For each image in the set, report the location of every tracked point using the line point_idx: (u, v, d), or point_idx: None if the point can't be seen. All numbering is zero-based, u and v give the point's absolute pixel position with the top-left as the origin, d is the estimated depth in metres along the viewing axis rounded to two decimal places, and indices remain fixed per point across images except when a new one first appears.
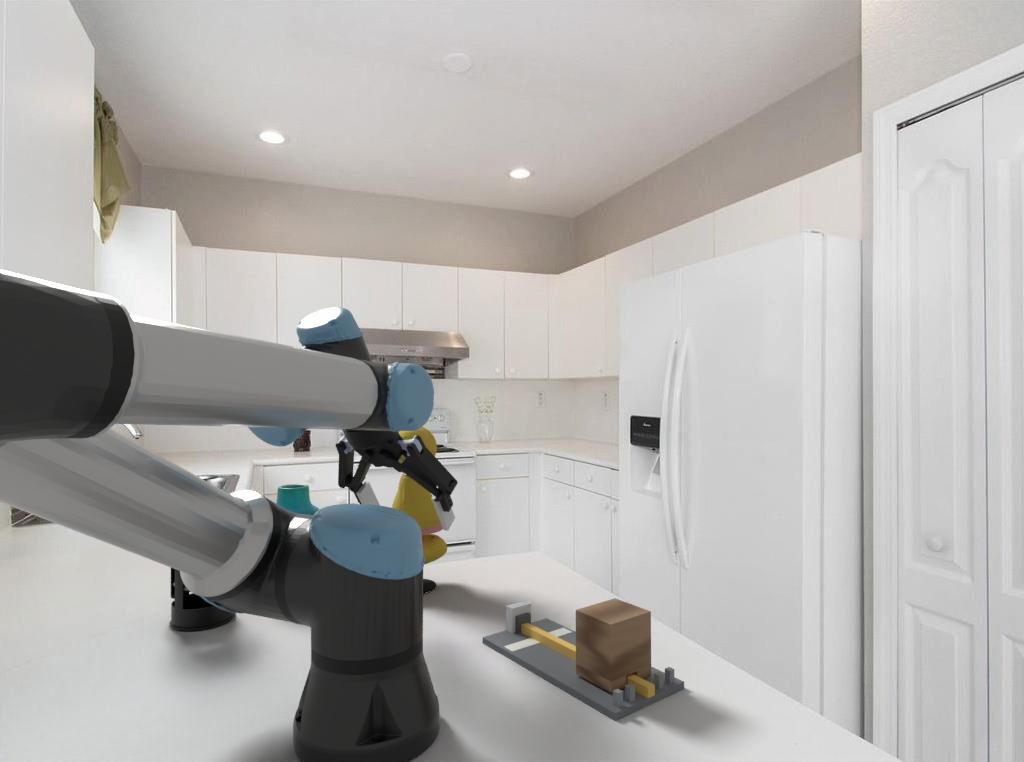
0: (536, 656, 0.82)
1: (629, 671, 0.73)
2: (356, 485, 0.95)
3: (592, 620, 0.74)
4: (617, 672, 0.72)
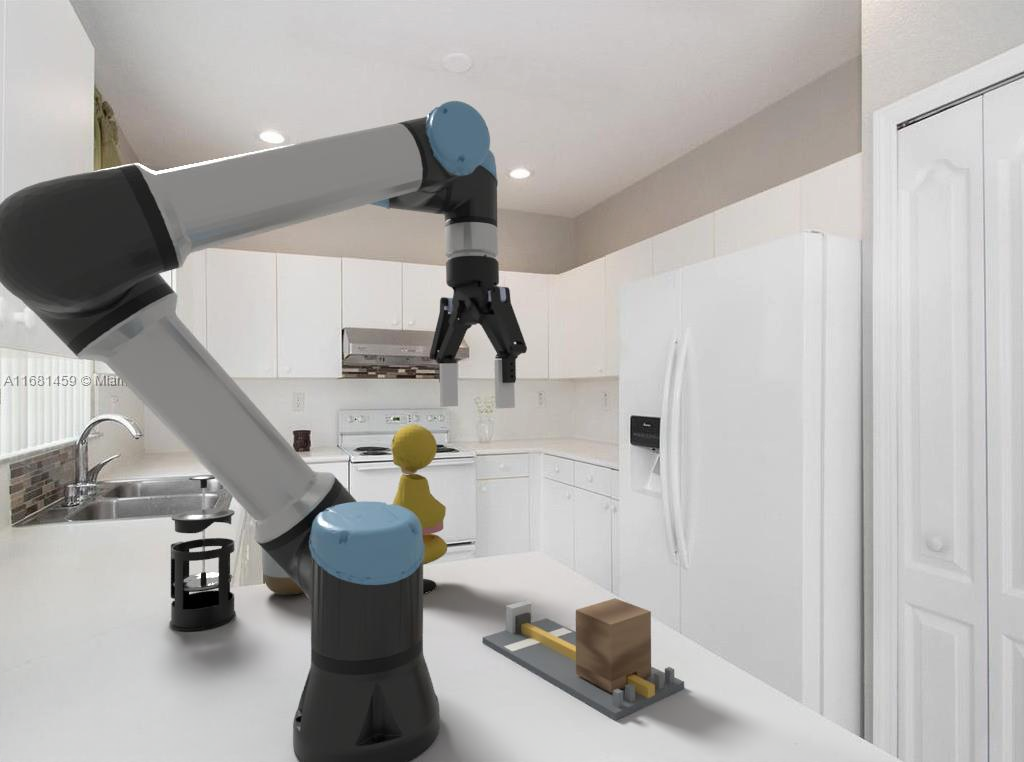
0: (536, 656, 0.82)
1: (629, 671, 0.73)
2: (442, 353, 0.92)
3: (592, 620, 0.74)
4: (617, 672, 0.72)
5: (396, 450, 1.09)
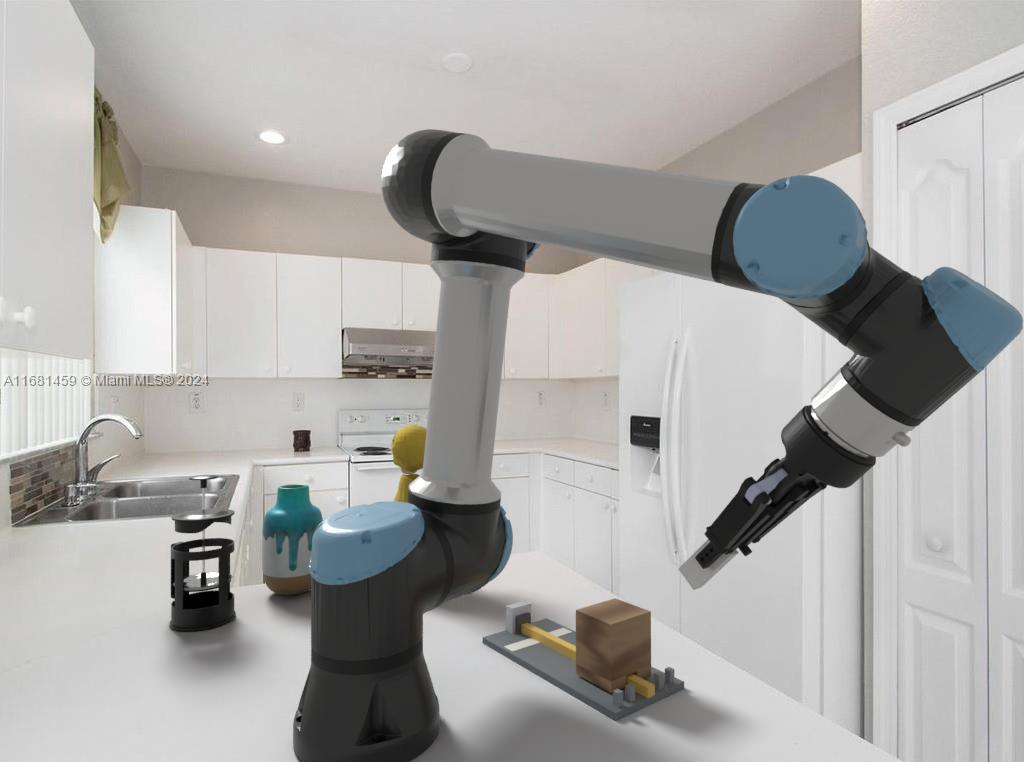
0: (536, 656, 0.82)
1: (629, 671, 0.73)
2: None
3: (592, 620, 0.74)
4: (617, 672, 0.72)
5: (396, 450, 1.09)
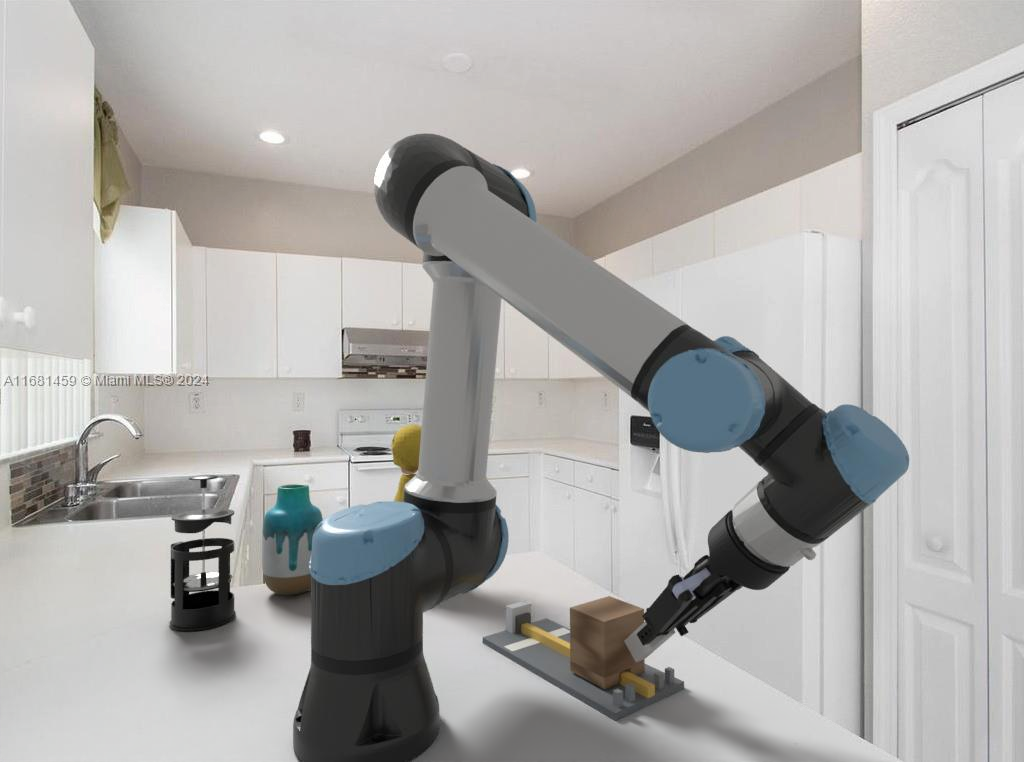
0: (536, 656, 0.82)
1: (622, 668, 0.74)
2: None
3: (585, 617, 0.75)
4: (610, 669, 0.73)
5: (396, 450, 1.09)
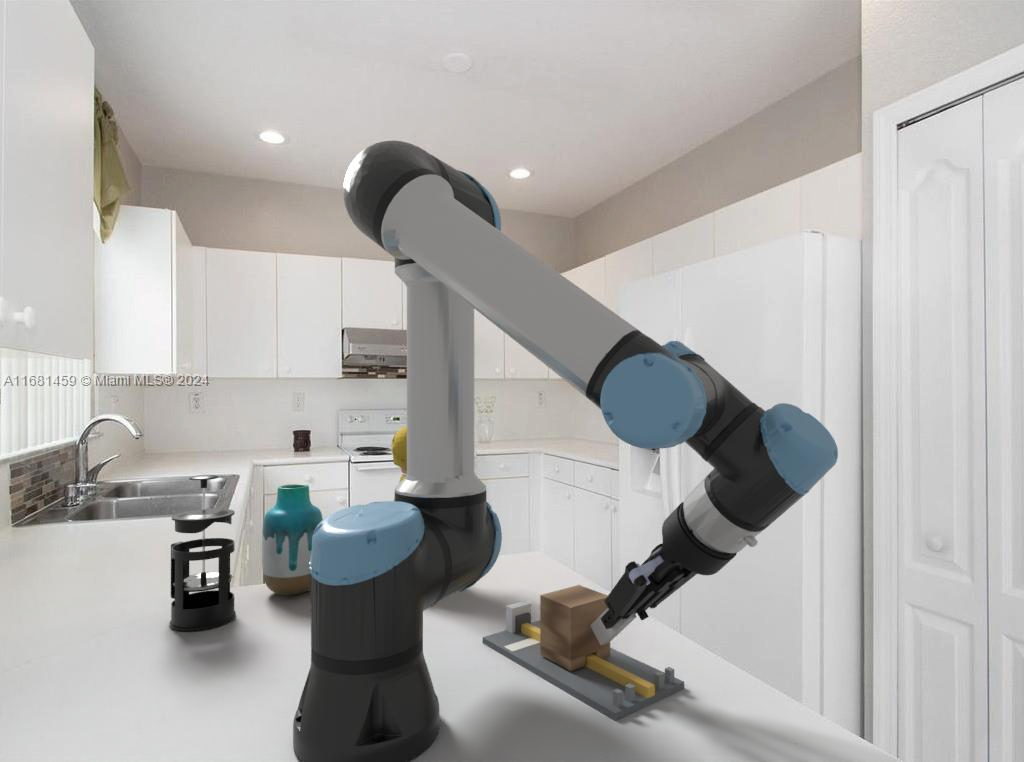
0: (536, 656, 0.82)
1: (588, 651, 0.78)
2: None
3: (554, 604, 0.79)
4: (577, 652, 0.77)
5: (396, 450, 1.09)
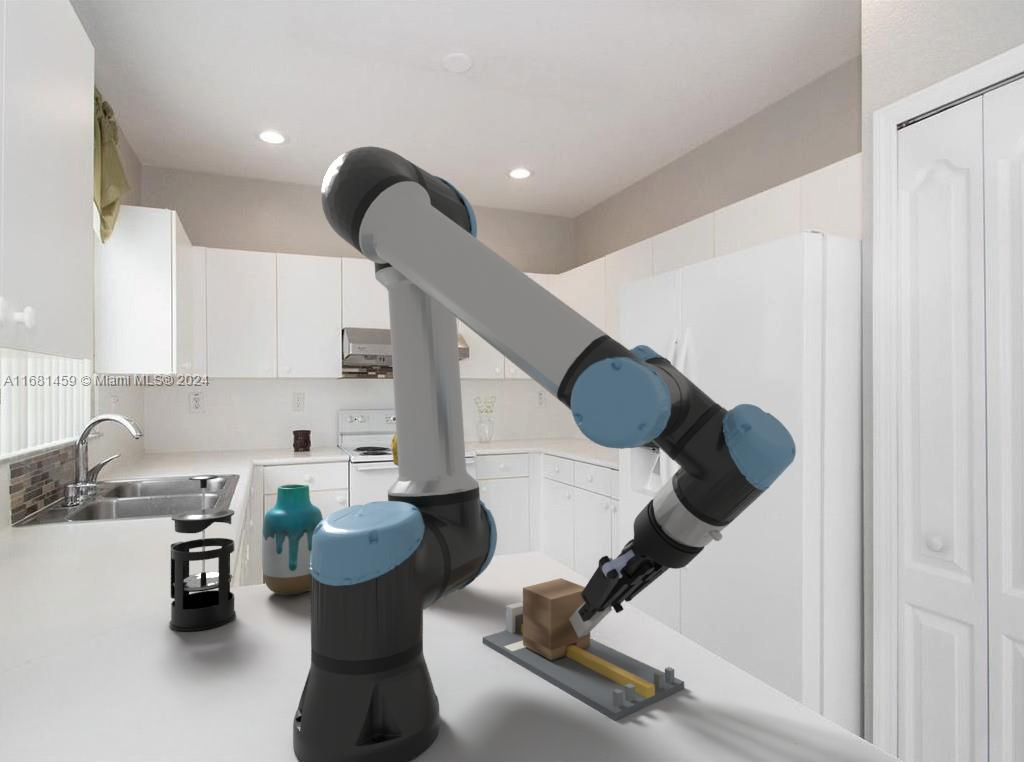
0: (536, 656, 0.82)
1: (568, 642, 0.82)
2: None
3: (536, 596, 0.82)
4: (557, 642, 0.80)
5: (396, 450, 1.09)
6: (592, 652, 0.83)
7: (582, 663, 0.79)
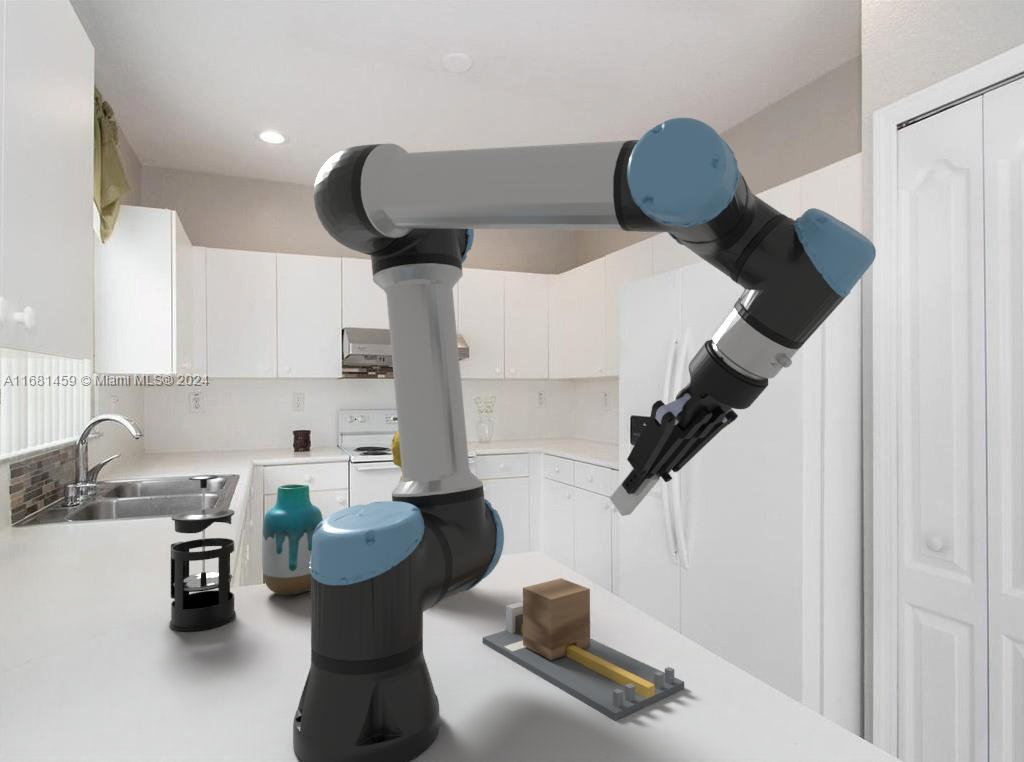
0: (536, 656, 0.82)
1: (568, 642, 0.82)
2: None
3: (536, 596, 0.82)
4: (557, 642, 0.80)
5: (396, 450, 1.09)
6: (592, 652, 0.83)
7: (582, 663, 0.79)
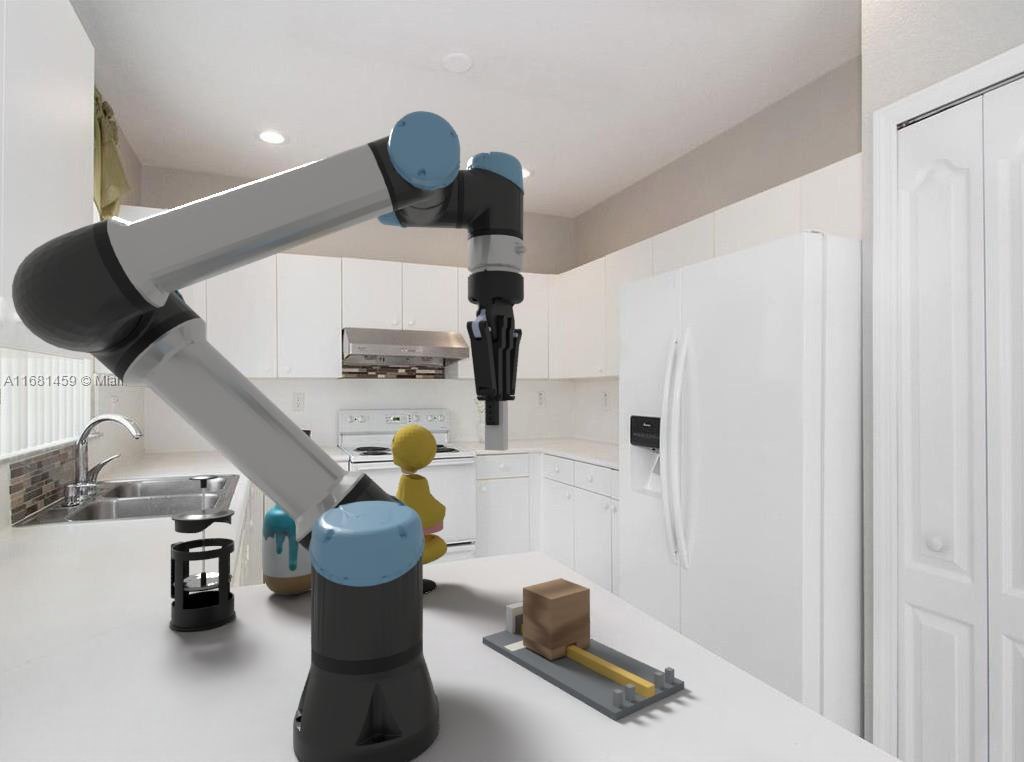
0: (536, 656, 0.82)
1: (568, 642, 0.82)
2: None
3: (536, 596, 0.82)
4: (557, 642, 0.80)
5: (396, 450, 1.09)
6: (592, 652, 0.83)
7: (582, 663, 0.79)
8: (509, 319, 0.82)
